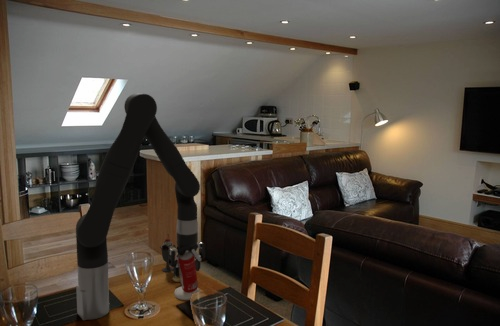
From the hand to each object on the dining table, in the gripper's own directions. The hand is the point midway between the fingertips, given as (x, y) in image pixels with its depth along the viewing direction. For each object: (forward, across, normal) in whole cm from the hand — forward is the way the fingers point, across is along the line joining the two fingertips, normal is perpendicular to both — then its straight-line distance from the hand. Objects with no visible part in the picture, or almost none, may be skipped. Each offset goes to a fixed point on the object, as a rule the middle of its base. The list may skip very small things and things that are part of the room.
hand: (187, 273), depth 144 cm
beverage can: (+7, +1, 0) cm, 7 cm away
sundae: (+8, +5, +24) cm, 25 cm away
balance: (+8, +4, +12) cm, 15 cm away
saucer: (+8, 0, 0) cm, 8 cm away
